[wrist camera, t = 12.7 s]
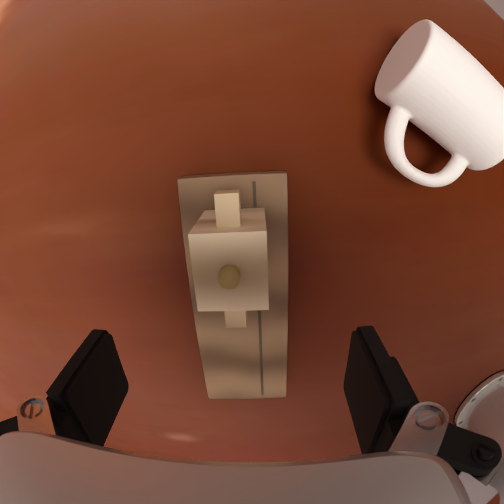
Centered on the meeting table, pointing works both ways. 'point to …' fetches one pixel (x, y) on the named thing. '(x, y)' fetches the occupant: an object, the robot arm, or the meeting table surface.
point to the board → (258, 321)
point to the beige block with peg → (230, 259)
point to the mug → (440, 103)
